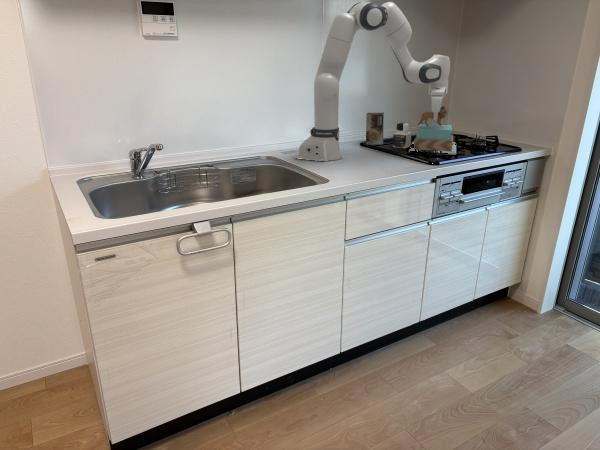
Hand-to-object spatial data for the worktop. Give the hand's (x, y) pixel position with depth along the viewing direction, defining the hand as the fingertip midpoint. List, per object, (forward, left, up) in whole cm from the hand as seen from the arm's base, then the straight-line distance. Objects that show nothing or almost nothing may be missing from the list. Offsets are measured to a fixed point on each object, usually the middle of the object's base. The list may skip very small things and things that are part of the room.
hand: (435, 119), depth 219 cm
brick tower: (0, 0, -15) cm, 15 cm away
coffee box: (-31, +7, -15) cm, 35 cm away
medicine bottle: (-16, +2, -15) cm, 22 cm away
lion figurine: (-1, +1, -3) cm, 3 cm away
